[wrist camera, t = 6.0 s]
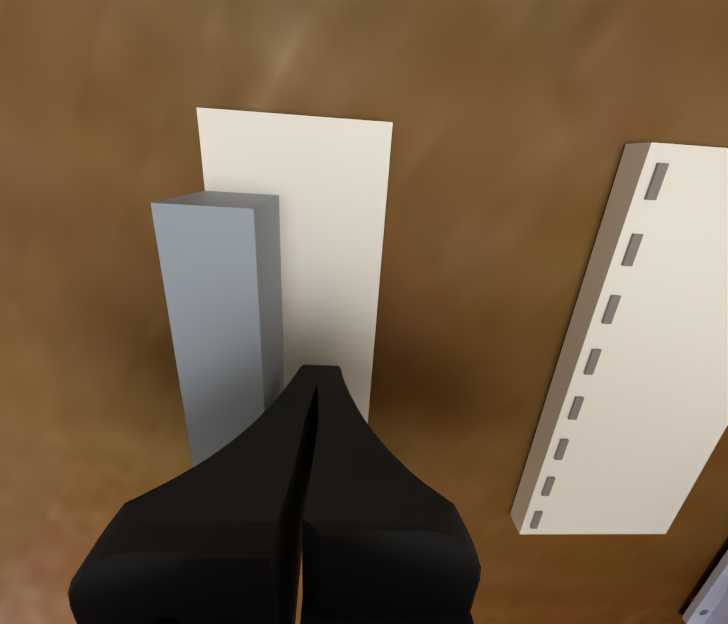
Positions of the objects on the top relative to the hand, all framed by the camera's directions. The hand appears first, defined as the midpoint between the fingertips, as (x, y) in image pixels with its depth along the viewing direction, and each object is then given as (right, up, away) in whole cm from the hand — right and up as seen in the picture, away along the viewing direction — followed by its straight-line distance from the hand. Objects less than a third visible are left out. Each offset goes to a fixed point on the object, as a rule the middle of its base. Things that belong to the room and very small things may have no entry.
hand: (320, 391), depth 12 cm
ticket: (+12, 0, +3) cm, 13 cm away
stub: (-1, +1, +2) cm, 2 cm away
